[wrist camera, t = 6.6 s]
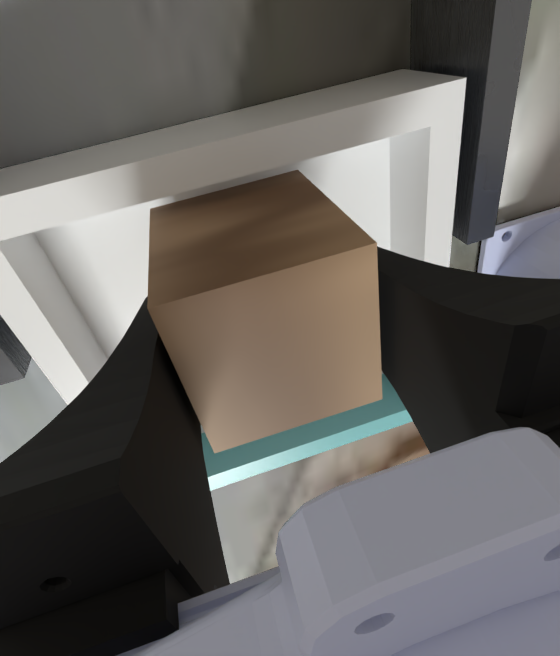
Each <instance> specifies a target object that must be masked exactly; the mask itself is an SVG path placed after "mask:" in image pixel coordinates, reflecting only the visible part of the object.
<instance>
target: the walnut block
mask: <svg viewBox="0 0 560 656" xmlns="http://www.w3.org/2000/svg"><path fill="white" fill-rule="evenodd" d="M147 309H148V311H149V313H150V315H151V318H152V320H153V322H154V324H155V326H156V328H157V330H158V333H159V335H160V337H161V339H162V341H163V343H164V346H165V348H166V350H167V352H168V354H169V356H170V359H171V361H172V363H173V365H174V367H175V369H176V371H177V374H178V376H179V378H180V380H181V382H182V384H183V387H184V389H185V391H186V393H187V395H188V397H189V400H190V402H191V404H192V406H193V408H194V410H195V413H196V415H197V417H198V419H199V421H200V423H201V425H202V428H203V430H204V432H205V434H206V436H207V438H208V441H209V443H210V445H211V447H212V449H213V451H214V454H215V453H218V452H221V451H224V450H227V449H230V448H233V447H236V446H240V445H243V444H246V443H249V442H252V441H255V440H258V439H261V438H264V437H267V436H270V435H274V434H277V433H280V432H283V431H286V430H289V429H292V428H295V427H298V426H301V425H304V424H308V423H311V422H314V421H317V420H320V419H323V418H326V417H329V416H332V415H335V414H338V413H341V412H345V411H348V410H351V409H354V408H357V407H360V406H363V405H366V404H369V403H372V402H375V401H379V400H382V371H381V343H380V315H379V287H378V258H377V242H376V241H375V240H373V239H372V238H371V237H370V236H369V235H368V234H367V233H366V232H365V231H364V230H363V229H362V228H360V227H359V226H358V225H357V224H356V223H355V222H354V221H353V220H352V219H351V218H350V217H349V216H347V215H346V214H345V213H344V212H343V211H342V210H341V209H340V208H339V207H338V206H337V205H336V204H335V203H333V202H332V201H331V200H330V199H329V198H328V197H327V196H326V195H325V194H324V193H323V192H322V191H320V190H319V189H318V188H317V187H316V186H315V185H314V184H313V183H312V182H311V181H310V180H309V179H307V178H306V177H305V176H304V175H303V174H302V173H301V172H300V171H299V170H294V171H290V172H287V173H283V174H279V175H275V176H272V177H268V178H264V179H260V180H256V181H253V182H249V183H245V184H241V185H238V186H234V187H230V188H226V189H223V190H219V191H215V192H211V193H207V194H204V195H200V196H196V197H192V198H189V199H185V200H181V201H177V202H173V203H170V204H166V205H162V206H158V207H155V208H151V209H150V226H149V265H148V303H147Z"/></svg>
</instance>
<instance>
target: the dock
mask: <svg viewBox="0 0 560 656" xmlns="http://www.w3.org/2000/svg"><path fill="white" fill-rule="evenodd" d="M531 1H532V0H412V12H411V65H410V70H414V71H422V72H429V73H437V74H444V75H452V76H459V77H467V79H466V90H465V100H464V111H463V122H462V133H461V144H460V155H459V165H458V176H457V187H456V198H455V209H454V220H453V230H452V235H453V236H455V237H456V238H458V239H459V240H461V241H462V242H464V243H465V244H467V245H468V244H471V243H475V242H478V241H481V240H485V239H488V238H491V237H494V231H495V225H496V219H497V213H498V207H499V200H500V194H501V188H502V182H503V175H504V169H505V163H506V157H507V151H508V144H509V138H510V132H511V126H512V120H513V113H514V107H515V101H516V95H517V88H518V82H519V76H520V70H521V64H522V57H523V51H524V45H525V39H526V33H527V26H528V20H529V14H530V8H531ZM31 358H32V357H31V355H30V354H29V353H28V351H27V350H26V349H25V347H24V346H23V345H22V343H21V342H20V341H19V339H18V338H17V337H16V335H15V334H14V333H13V331H12V330H11V329H10V327H9V326H8V324H7V323H6V322H5V320H4V319H3V318H2V316H1V315H0V385H2V384H6V383H9V382H12V381H16V380H19V379H22V378H24V377H25V375H26V372H27V369H28V366H29V363H30V360H31Z"/></svg>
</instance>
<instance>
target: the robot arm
mask: <svg viewBox="0 0 560 656" xmlns="http://www.w3.org/2000/svg"><path fill="white" fill-rule="evenodd" d="M505 232H506V233H505ZM504 233H505V235H504V236H503V234H504ZM502 236H503V237H502ZM377 258H378V287H379V315H380V343H381V371H382V372H383V373H384V375H385V376H386V377H387V379H388V380H389V382H390V383H391V385H392V386H393V388H394V389H395V391H396V392H397V394H398V396H399V398H400V399H401V401H402V403H403V404H404V406H405V408H406V410H407V411H408V413H409V415H410V417H411V418H412V420H413V422H414V424H415V426H416V428H417V429H418V431H419V433H420V435H421V437H422V439H423V440H424V442H425V444H426V446H427V448H428V450H429V452H430V454H428V455H425V456H422V457H419V458H416V459H413V460H411V461H408V462H405V463H402V464H399V465H396V466H394V467H391V468H388V469H385V470H382V471H380V472H377V473H374V474H371V475H368V476H365V477H363V478H360V479H357V480H354V481H351V482H348V483H346V484H343V485H340V486H337V487H335V488H333V489H331V490H329V491H327V492H325V493H323V494H321V495H319V496H317V497H316V498H314V499H312V500H310V501H308V502H306V503H304V504H303V505H302V506H301V507H300V508H299V509H298V510H297V511H296V512H295V513H294V514H293V515H292V516H291V518H290V519H289V520H288V521H287V522H286V523H285V524H284V525H283V526H282V528H281V530H280V531H279V533H278V540H277V547H276V556H277V560H278V564H279V566H278V567H275V568H273V569H270V570H267V571H264V572H262V573H259V574H256V575H254V576H251V577H248V578H245V579H243V580H240V581H237V582H235V583H232V584H230V583H229V578H228V574H227V569H226V565H225V560H224V556H223V551H222V546H221V541H220V537H219V532H218V527H217V522H216V517H215V512H214V507H213V502H212V497H211V492H210V487H209V481H208V476H207V471H206V465H205V460H204V454H203V446H202V436H201V423H200V421H199V419H198V417H197V415H196V413H195V410H194V408H193V406H192V404H191V402H190V400H189V397H188V395H187V393H186V391H185V389H184V387H183V384H182V382H181V380H180V378H179V376H178V374H177V371H176V369H175V367H174V365H173V363H172V361H171V359H170V356H169V354H168V352H167V350H166V348H165V346H164V343H163V341H162V339H161V337H160V335H159V333H158V330H157V328H156V326H155V324H154V322H153V320H152V318H151V315H150V313H149V311H148V309H147V303H148V296H147V297H146V298H145V300H144V302H143V303H142V305H141V307H140V309H139V310H138V312H137V314H136V316H135V318H134V319H133V321H132V323H131V325H130V326H129V328H128V330H127V331H126V333H125V335H124V336H123V338H122V340H121V341H120V342H119V344H118V345H117V347H116V348H115V350H114V351H113V353H112V354H111V355H110V357H109V358H108V360H107V361H106V363H105V364H104V365H103V367H102V368H101V369H100V370H99V372H98V373H97V374H96V375H95V377H94V378H93V379H92V380H91V381H90V382H89V384H88V385H87V386H86V387H85V388H84V389H83V390H82V392H81V393H80V394H79V395H78V396H77V397H76V398H75V399H74V400H73V401H72V402H71V403H70V404H69V405H68V406H67V407H66V408H65V409H64V410H63V411H62V412H61V413H60V414H58V415H57V416H56V417H55V418H54V419H53V420H52V421H51V422H50V423H49V424H48V425H47V426H46V427H44V428H43V429H42V430H41V431H40V432H39V433H38V434H36V435H35V436H34V437H33V438H32V439H30V440H29V441H28V442H27V443H26V444H24V445H23V446H22V447H21V448H19V449H18V450H17V451H16V452H14V453H13V454H12V455H10V456H9V457H8V458H7V459H5V460H4V461H3V462H1V463H0V656H560V207H556V208H553V209H550V210H546V211H543V212H539V213H536V214H533V215H529V216H526V217H523V218H519V219H516V220H513V221H509V222H506V223H503V224H499V225H496V226H495V231H494V237H491V238H488V239H485V240H482V243H481V250H480V257H479V264H478V271H477V272H471V271H465V270H460V269H454V268H449V267H445V266H440V265H436V264H432V263H429V262H425V261H421V260H418V259H414V258H411V257H408V256H404V255H401V254H398V253H395V252H392V251H389V250H386V249H383V248H381V247H378V246H377Z"/></svg>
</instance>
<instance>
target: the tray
mask: <svg viewBox="0 0 560 656" xmlns="http://www.w3.org/2000/svg"><path fill="white" fill-rule="evenodd" d="M466 79H467V77H459V76H452V75H444V74H437V73H429V72H422V71H414V70H407V69H400V70H396V71H392V72H388V73H384V74H380V75H376V76H372V77H368V78H364V79H360V80H356V81H352V82H348V83H344V84H340V85H336V86H332V87H328V88H324V89H320V90H316V91H312V92H308V93H304V94H300V95H296V96H292V97H288V98H284V99H280V100H275V101H271V102H267V103H263V104H259V105H255V106H251V107H247V108H243V109H239V110H235V111H231V112H227V113H223V114H219V115H215V116H211V117H207V118H203V119H199V120H195V121H191V122H187V123H183V124H179V125H175V126H171V127H167V128H163V129H159V130H155V131H151V132H147V133H143V134H139V135H135V136H131V137H127V138H123V139H119V140H115V141H111V142H107V143H103V144H98V145H94V146H90V147H86V148H82V149H78V150H74V151H70V152H66V153H62V154H58V155H54V156H50V157H46V158H42V159H38V160H34V161H30V162H26V163H22V164H18V165H14V166H10V167H6V168H2V169H0V315H1V316H2V318H3V319H4V320H5V322H6V323H7V324H8V326H9V327H10V329H11V330H12V331H13V333H14V334H15V335H16V337H17V338H18V339H19V341H20V342H21V343H22V345H23V346H24V347H25V349H26V350H27V351H28V353H29V354H30V355H31V357H32V358H33V359H34V361H35V362H36V363H37V365H38V366H39V367H40V369H41V370H42V371H43V373H44V374H45V375H46V377H47V378H48V379H49V381H50V382H51V383H52V385H53V386H54V387H55V389H56V390H57V391H58V393H59V394H60V395H61V397H62V398H63V400H64V401H65V402H66V404H67V405H69V404H70V403H71V402H72V401H73V400H74V399H75V398H76V397H77V396H78V395H79V394H80V393H81V392H82V390H83V389H84V388H85V387H86V386H87V385H88V384H89V382H90V381H91V380H92V379H93V378H94V377H95V375H96V374H97V373H98V372H99V370H100V369H101V368H102V367H103V365H104V364H105V363H106V361H107V360H108V358H109V357H110V355H111V354H112V353H113V351H114V350H115V348H116V347H117V345H118V344H119V342H120V341H121V340H122V338H123V336H124V335H125V333H126V331H127V330H128V328H129V326H130V325H131V323H132V321H133V319H134V318H135V316H136V314H137V312H138V310H139V309H140V307H141V305H142V303H143V302H144V300H145V298H146V297H147V296H148V265H149V226H150V209H151V208H155V207H158V206H162V205H166V204H170V203H173V202H177V201H181V200H185V199H189V198H192V197H196V196H200V195H204V194H207V193H211V192H215V191H219V190H223V189H226V188H230V187H234V186H238V185H241V184H245V183H249V182H253V181H256V180H260V179H264V178H268V177H272V176H275V175H279V174H283V173H287V172H290V171H294V170H299V171H300V172H301V173H302V174H303V175H304V176H305V177H306V178H307V179H309V180H310V181H311V182H312V183H313V184H314V185H315V186H316V187H317V188H318V189H319V190H320V191H322V192H323V193H324V194H325V195H326V196H327V197H328V198H329V199H330V200H331V201H332V202H333V203H335V204H336V205H337V206H338V207H339V208H340V209H341V210H342V211H343V212H344V213H345V214H346V215H347V216H349V217H350V218H351V219H352V220H353V221H354V222H355V223H356V224H357V225H358V226H359V227H360V228H362V229H363V230H364V231H365V232H366V233H367V234H368V235H369V236H370V237H371V238H372V239H373V240H375V241H376V242H377V246H378V247H381V248H383V249H386V250H389V251H392V252H395V253H398V254H401V255H404V256H408V257H411V258H414V259H418V260H421V261H425V262H429V263H432V264H436V265H440V266H445V267H449V263H450V252H451V241H452V230H453V220H454V209H455V198H456V187H457V176H458V165H459V155H460V144H461V133H462V122H463V111H464V100H465V90H466ZM412 421H413V420H412V418H411V417H410V415H409V413H408V411H407V410H406V408H405V406H404V404H403V403H402V401H401V399H400V398H399V396H398V394H397V392H396V391H395V389H394V388H393V386H392V385H391V383H390V382H389V380H388V379H387V377H386V376H385V375H384V373H383V372H382V400H379V401H375V402H372V403H369V404H366V405H363V406H360V407H357V408H354V409H351V410H348V411H345V412H341V413H338V414H335V415H332V416H329V417H326V418H323V419H320V420H317V421H314V422H311V423H308V424H304V425H301V426H298V427H295V428H292V429H289V430H286V431H283V432H280V433H277V434H274V435H270V436H267V437H264V438H261V439H258V440H255V441H252V442H249V443H246V444H243V445H240V446H236V447H233V448H230V449H227V450H224V451H221V452H218V453H215V454H214V451H213V449H212V447H211V445H210V443H209V441H208V438H207V436H206V434H205V432H204V430H203V428H202V425H201V436H202V446H203V454H204V460H205V465H206V471H207V476H208V481H209V487H210V491H211V490H214V489H217V488H220V487H223V486H226V485H228V484H231V483H234V482H237V481H240V480H243V479H246V478H249V477H252V476H255V475H258V474H260V473H263V472H266V471H269V470H272V469H275V468H278V467H281V466H284V465H287V464H290V463H292V462H295V461H298V460H301V459H304V458H307V457H310V456H313V455H316V454H319V453H322V452H324V451H327V450H330V449H333V448H336V447H339V446H342V445H345V444H348V443H351V442H354V441H356V440H359V439H362V438H365V437H368V436H371V435H374V434H377V433H380V432H383V431H386V430H388V429H391V428H394V427H397V426H400V425H403V424H406V423H409V422H412Z"/></svg>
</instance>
